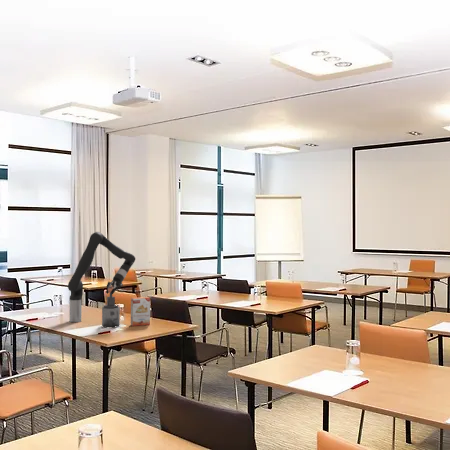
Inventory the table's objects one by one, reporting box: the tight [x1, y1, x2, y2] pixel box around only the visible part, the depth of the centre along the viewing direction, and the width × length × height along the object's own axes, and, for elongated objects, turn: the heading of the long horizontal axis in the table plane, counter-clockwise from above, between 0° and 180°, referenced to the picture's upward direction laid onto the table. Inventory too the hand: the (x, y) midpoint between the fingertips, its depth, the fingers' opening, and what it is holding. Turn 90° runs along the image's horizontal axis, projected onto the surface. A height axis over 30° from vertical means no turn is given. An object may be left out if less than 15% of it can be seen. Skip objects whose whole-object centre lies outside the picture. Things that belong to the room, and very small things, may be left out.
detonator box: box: [101, 295, 121, 328], centre depth 400 cm, size 18×13×22 cm
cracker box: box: [130, 296, 151, 327], centre depth 406 cm, size 14×6×21 cm, turn 117°
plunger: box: [108, 287, 114, 297], centre depth 402 cm, size 4×4×12 cm
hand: (109, 293), depth 400 cm, fingers closed on plunger, 4 cm apart
